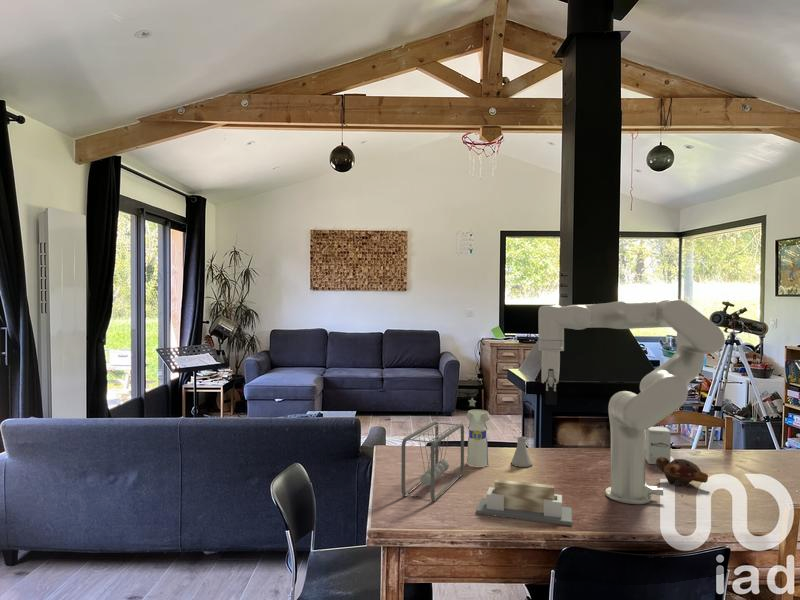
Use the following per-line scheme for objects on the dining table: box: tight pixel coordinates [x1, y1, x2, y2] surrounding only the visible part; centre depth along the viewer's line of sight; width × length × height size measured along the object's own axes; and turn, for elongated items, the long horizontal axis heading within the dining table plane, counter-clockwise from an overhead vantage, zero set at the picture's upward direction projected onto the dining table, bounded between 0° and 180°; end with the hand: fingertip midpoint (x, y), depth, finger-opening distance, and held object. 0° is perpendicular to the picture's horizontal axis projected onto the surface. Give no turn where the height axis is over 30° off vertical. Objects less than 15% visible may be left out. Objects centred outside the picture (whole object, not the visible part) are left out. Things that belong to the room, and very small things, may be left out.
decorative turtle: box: [655, 457, 709, 488], centre depth 165 cm, size 10×15×8 cm, turn 51°
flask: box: [510, 436, 533, 468], centre depth 185 cm, size 7×7×10 cm
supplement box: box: [645, 426, 672, 465], centre depth 189 cm, size 7×7×13 cm
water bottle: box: [466, 397, 491, 466], centre depth 185 cm, size 8×9×25 cm
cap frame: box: [476, 486, 573, 527], centre depth 141 cm, size 25×10×5 cm, turn 72°
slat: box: [494, 479, 555, 513], centre depth 141 cm, size 16×2×7 cm, turn 72°
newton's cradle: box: [400, 420, 465, 502], centre depth 163 cm, size 30×10×18 cm, turn 156°
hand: (551, 401), depth 156 cm, fingers open, 9 cm apart
